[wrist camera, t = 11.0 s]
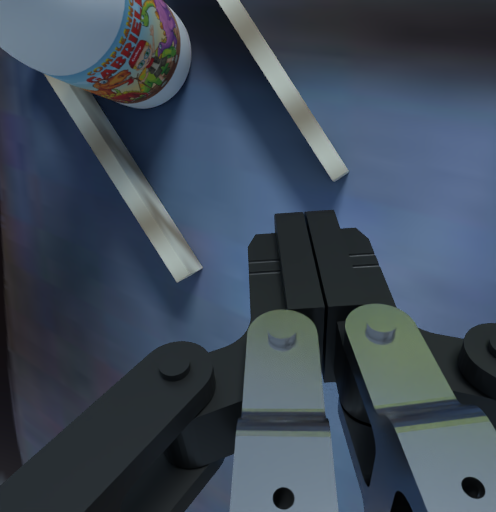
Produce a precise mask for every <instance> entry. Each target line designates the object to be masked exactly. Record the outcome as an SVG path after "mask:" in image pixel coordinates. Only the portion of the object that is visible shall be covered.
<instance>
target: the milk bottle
mask: <svg viewBox="0 0 496 512" xmlns="http://www.w3.org/2000/svg"><path fill="white" fill-rule="evenodd" d="M0 47H1V48H2V49H3V50H5V51H6V52H7V53H8V54H10V55H11V56H13V57H14V58H15V59H17V60H19V61H20V62H22V63H24V64H25V65H27V66H29V67H31V68H33V69H35V70H37V71H40V72H42V73H44V74H46V75H48V76H51V77H53V78H56V79H58V80H61V81H63V82H66V83H68V84H71V85H73V86H76V87H78V88H81V89H83V90H86V91H88V92H91V93H94V94H96V95H99V96H101V97H104V98H107V99H109V100H112V101H115V102H117V103H120V104H123V105H126V106H129V107H133V108H138V109H147V108H153V107H156V106H159V105H161V104H163V103H165V102H166V101H168V100H169V99H171V98H172V97H173V96H174V95H175V94H176V93H177V92H178V91H179V90H180V88H181V86H182V85H183V83H184V82H185V80H186V77H187V75H188V72H189V68H190V63H191V44H190V39H189V35H188V33H187V30H186V28H185V26H184V24H183V23H182V21H181V20H180V18H179V17H178V16H177V15H176V14H175V13H174V11H173V10H172V9H171V8H170V7H169V6H168V5H167V4H166V3H165V2H164V1H163V0H0Z"/></svg>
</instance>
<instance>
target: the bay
mask: <svg viewBox="0 0 496 512" xmlns="http://www.w3.org/2000/svg"><path fill="white" fill-rule="evenodd" d="M217 1H218V3H219V4H220V6H221V7H222V9H223V11H224V12H225V14H226V15H227V17H228V18H229V20H230V21H231V23H232V25H233V26H234V28H235V29H236V31H237V32H238V34H239V35H240V37H241V39H242V40H243V42H244V43H245V45H246V46H247V48H248V50H249V51H250V53H251V54H252V56H253V57H254V59H255V60H256V62H257V64H258V65H259V67H260V68H261V70H262V71H263V73H264V75H265V76H266V78H267V79H268V81H269V82H270V84H271V85H272V87H273V89H274V90H275V92H276V93H277V95H278V96H279V98H280V100H281V101H282V103H283V104H284V106H285V107H286V109H287V110H288V112H289V114H290V115H291V117H292V118H293V120H294V121H295V123H296V125H297V126H298V128H299V129H300V131H301V132H302V134H303V135H304V137H305V139H306V140H307V142H308V143H309V145H310V146H311V148H312V150H313V151H314V153H315V154H316V156H317V157H318V159H319V160H320V162H321V164H322V165H323V167H324V168H325V170H326V171H327V173H328V175H329V176H330V178H331V179H332V181H333V182H335V181H337V180H338V179H340V178H341V177H343V176H344V175H346V174H347V173H349V171H348V169H347V168H346V166H345V164H344V163H343V161H342V160H341V158H340V157H339V155H338V153H337V152H336V150H335V149H334V147H333V146H332V144H331V143H330V141H329V139H328V138H327V136H326V135H325V133H324V132H323V130H322V128H321V127H320V125H319V124H318V122H317V121H316V119H315V118H314V116H313V114H312V113H311V111H310V110H309V108H308V107H307V105H306V104H305V102H304V100H303V99H302V97H301V96H300V94H299V93H298V91H297V89H296V88H295V86H294V85H293V83H292V82H291V80H290V79H289V77H288V75H287V74H286V72H285V71H284V69H283V68H282V66H281V64H280V63H279V61H278V60H277V58H276V57H275V55H274V54H273V52H272V50H271V49H270V47H269V46H268V44H267V43H266V41H265V39H264V38H263V36H262V35H261V33H260V32H259V30H258V29H257V27H256V25H255V24H254V22H253V21H252V19H251V18H250V16H249V14H248V13H247V11H246V10H245V8H244V7H243V5H242V4H241V2H240V0H217ZM44 75H45V76H46V78H47V80H48V81H49V83H50V84H51V86H52V87H53V89H54V91H55V92H56V94H57V95H58V97H59V98H60V100H61V101H62V103H63V105H64V106H65V108H66V109H67V111H68V112H69V114H70V116H71V117H72V119H73V120H74V122H75V123H76V125H77V127H78V128H79V130H80V131H81V133H82V134H83V136H84V138H85V139H86V141H87V142H88V144H89V145H90V147H91V149H92V150H93V152H94V153H95V155H96V156H97V158H98V159H99V161H100V163H101V164H102V166H103V167H104V169H105V170H106V172H107V174H108V175H109V177H110V178H111V180H112V181H113V183H114V185H115V186H116V188H117V189H118V191H119V192H120V194H121V196H122V197H123V199H124V200H125V202H126V203H127V205H128V207H129V208H130V210H131V211H132V213H133V214H134V216H135V218H136V219H137V221H138V222H139V224H140V225H141V227H142V228H143V230H144V232H145V233H146V235H147V236H148V238H149V239H150V241H151V243H152V244H153V246H154V247H155V249H156V250H157V252H158V254H159V255H160V257H161V258H162V260H163V261H164V263H165V265H166V266H167V268H168V269H169V271H170V272H171V274H172V276H173V277H174V279H175V280H176V282H177V283H178V282H180V281H181V280H183V279H185V278H187V277H189V276H191V275H193V274H194V273H196V272H197V271H199V270H200V269H202V268H203V267H202V266H201V264H200V263H199V261H198V259H197V258H196V256H195V255H194V253H193V252H192V250H191V248H190V247H189V245H188V244H187V242H186V241H185V239H184V237H183V236H182V234H181V233H180V231H179V230H178V228H177V227H176V225H175V223H174V222H173V220H172V219H171V217H170V216H169V214H168V212H167V211H166V209H165V208H164V206H163V205H162V203H161V201H160V200H159V198H158V197H157V195H156V194H155V192H154V190H153V189H152V187H151V186H150V184H149V183H148V181H147V180H146V178H145V176H144V175H143V173H142V172H141V170H140V169H139V167H138V165H137V164H136V162H135V161H134V159H133V158H132V156H131V154H130V153H129V151H128V150H127V148H126V147H125V145H124V143H123V142H122V140H121V139H120V137H119V136H118V134H117V132H116V131H115V129H114V128H113V126H112V125H111V123H110V122H109V120H108V118H107V117H106V115H105V114H104V112H103V111H102V109H101V107H100V106H99V104H98V103H97V101H96V100H95V98H94V96H93V95H92V93H91V92H88V91H86V90H83V89H81V88H78V87H76V86H73V85H71V84H68V83H66V82H63V81H61V80H58V79H56V78H53V77H51V76H48V75H46V74H44Z"/></svg>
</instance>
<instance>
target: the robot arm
mask: <svg viewBox="0 0 496 512" xmlns="http://www.w3.org/2000/svg"><path fill="white" fill-rule="evenodd" d="M274 220H275V233H271V234H256V235H255V236H254V238H253V240H252V241H251V243H250V244H249V246H248V261H249V285H250V309H251V321H250V325H249V327H248V329H247V331H246V332H245V334H244V335H243V336H242V337H241V338H240V339H238V340H237V341H236V342H234V343H232V344H231V345H229V346H226V347H224V348H221V349H218V350H215V351H212V352H209V353H208V352H207V351H206V350H205V349H204V348H203V347H201V346H200V345H198V344H195V343H192V342H185V341H179V342H172V343H168V344H165V345H163V346H160V347H158V348H157V349H155V350H154V351H152V352H151V353H150V354H149V355H147V356H146V357H145V358H144V359H143V360H142V361H141V362H140V363H138V364H137V365H136V366H135V367H134V368H133V369H132V370H130V371H129V372H128V373H127V374H126V375H125V376H124V377H123V378H121V379H120V380H119V381H118V382H117V383H116V384H115V385H114V386H112V387H111V388H110V389H109V390H108V391H107V392H106V393H104V394H103V395H102V396H101V397H100V398H99V399H98V400H97V401H95V402H94V403H93V404H92V405H91V406H90V407H89V408H88V409H86V410H85V411H84V412H83V413H82V414H81V415H80V416H78V417H77V418H76V419H75V420H74V421H73V422H72V423H71V424H69V425H68V426H67V427H66V428H65V429H64V430H63V431H62V432H60V433H59V434H58V435H57V436H56V437H55V438H54V439H52V440H51V441H50V442H49V443H48V444H47V445H46V446H45V447H43V448H42V449H41V450H40V451H39V452H38V453H37V454H35V455H34V456H33V457H32V458H31V459H30V460H29V461H28V462H26V463H25V464H24V465H23V466H22V467H21V468H20V469H19V470H18V471H16V472H15V473H14V474H13V475H12V476H11V477H10V478H8V479H7V480H6V481H5V482H4V483H3V484H2V485H0V512H185V510H186V509H187V508H188V507H189V505H190V504H191V503H192V502H193V500H194V499H195V498H196V497H197V495H198V494H199V493H200V492H201V490H202V489H203V488H204V487H205V485H206V484H207V483H208V481H209V480H210V479H211V478H212V476H213V475H214V474H215V473H216V471H217V470H218V469H219V468H220V466H221V465H222V463H223V461H224V459H225V457H227V456H230V455H232V454H234V464H233V476H232V489H231V502H230V512H338V502H337V493H336V483H335V473H334V463H333V453H332V443H331V433H330V426H329V421H328V418H326V416H325V407H324V397H323V386H322V374H323V379H324V383H326V382H336V384H337V389H338V393H339V400H338V414H339V418H340V421H341V425H342V428H343V432H344V435H345V438H346V442H347V445H348V449H349V452H350V455H351V459H352V462H353V466H354V469H355V472H356V476H357V479H358V483H359V486H360V490H361V493H362V498H363V503H364V512H496V323H487V324H481V325H477V326H475V327H473V328H471V329H470V330H469V331H468V332H467V333H466V335H465V337H464V339H461V338H456V337H450V336H445V335H439V334H434V333H430V332H427V331H424V330H422V329H420V328H418V327H417V326H416V324H415V322H414V321H413V319H412V318H411V317H410V316H409V315H408V314H406V313H405V312H403V311H402V310H400V309H398V308H397V307H396V305H395V303H394V300H393V298H392V295H391V293H390V290H389V288H388V285H387V283H386V280H385V278H384V275H383V273H382V271H381V268H380V266H379V263H378V261H377V258H376V256H375V255H374V251H373V248H372V246H371V244H370V241H369V239H368V238H367V237H366V236H365V235H363V234H362V233H361V232H360V231H359V230H358V229H356V228H344V229H340V227H339V224H338V220H337V217H336V214H335V212H334V210H323V211H308V212H305V213H304V214H303V212H295V213H280V214H275V216H274Z"/></svg>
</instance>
